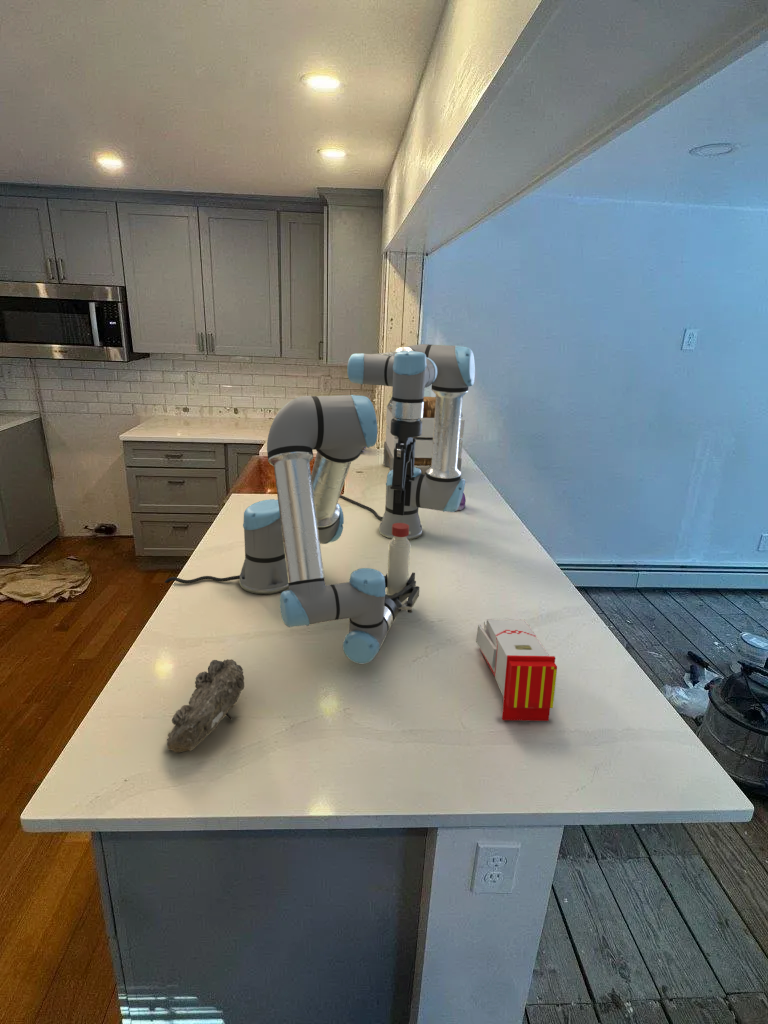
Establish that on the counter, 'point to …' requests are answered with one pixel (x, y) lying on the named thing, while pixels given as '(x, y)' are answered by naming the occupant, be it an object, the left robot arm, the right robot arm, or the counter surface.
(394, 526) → the cap
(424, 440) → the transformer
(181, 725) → the fossil
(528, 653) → the toy
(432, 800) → the counter surface
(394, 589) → the bottle
